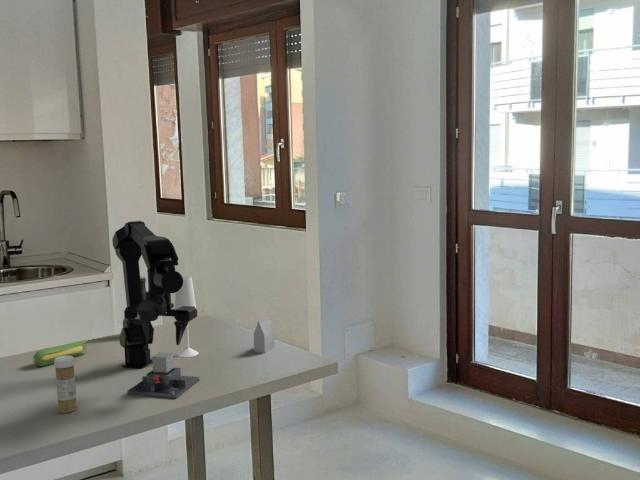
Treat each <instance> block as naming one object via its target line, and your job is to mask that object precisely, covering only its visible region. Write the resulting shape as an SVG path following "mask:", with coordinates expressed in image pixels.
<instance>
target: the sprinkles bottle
mask: <svg viewBox="0 0 640 480" xmlns="http://www.w3.org/2000/svg"><path fill="white" fill-rule="evenodd" d="M74 358H75V357H72V356H60V357H57V358H55V360H54V364H53V366H54V369H55V384H56V393H57V394H56V395H57V404H58V406H57V407H58V412H59V413H61V414H68V413H73V412H75V411H76V410H78V406H77V386H76V385H77V384H76V377H75V368H74V367H75V359H74Z"/></svg>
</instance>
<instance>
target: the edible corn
mask: <svg viewBox="0 0 640 480" xmlns="http://www.w3.org/2000/svg"><path fill="white" fill-rule="evenodd" d="M86 342H87V339H84V340H79V341H75V342H71V343H67V344H61V345H57V346H53V347H47V348H42V349H40V350H37V351H36V352H35V354H34V355H33V359H32V362H33V363H34V364H35V365H36V366H40V367H47V366H51V365H54V360H55V358H57V357H60V356H72V357H74V358H77V357H80V356H83V355H85V354H86V353H87V351H85V350H86V349H87V348H88V346H87V345H83V344H85V343H86Z"/></svg>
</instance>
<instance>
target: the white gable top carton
mask: <svg viewBox="0 0 640 480" xmlns="http://www.w3.org/2000/svg"><path fill="white" fill-rule="evenodd" d="M274 348H275V329H274V326H273V324H272V322H271V319H270V317H269V316H264V318H261V319H259V320H258V321H257V324H256V326H255V329H254V331H253V352H254V353H261V354H266V353H268V352H269V351H271V350H273V349H274Z"/></svg>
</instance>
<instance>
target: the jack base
mask: <svg viewBox="0 0 640 480" xmlns="http://www.w3.org/2000/svg"><path fill="white" fill-rule="evenodd" d="M198 382H200V376H192V375H191V376H190V375H189V376H188V375H181V368H180V367H174V371H172V372H171V373H170V374H168V375H163V374H153V369H152V370H151V371H149V372H148V373H146V375H143V376H141V381H140V382H138V383H136V385H133V386H132V387H130V388H129V389H127V393H126V394H127V395H129V396H139V395H140V396H141V395H142V396H141V397H151V396H152V398H153V397H154V398H163V397H164V398H165V397H166V399H178V398H179V397H181V396H182V395H183V394H184V393H185V392H187V391H188V390H189V389H190V388H192V387H193V386H194V385H196V384H198Z"/></svg>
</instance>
